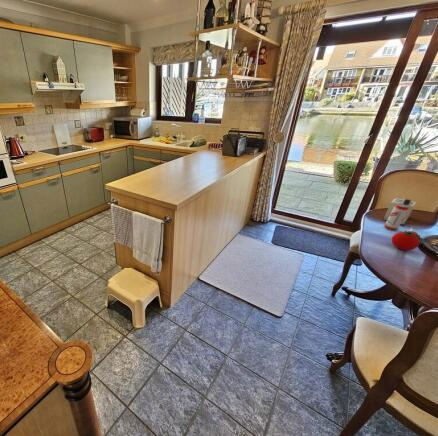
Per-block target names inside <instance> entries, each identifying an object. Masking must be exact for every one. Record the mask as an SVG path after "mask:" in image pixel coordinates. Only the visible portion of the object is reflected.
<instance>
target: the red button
mask: <svg viewBox="0 0 438 436" xmlns="http://www.w3.org/2000/svg"><path fill="white" fill-rule="evenodd" d="M407 232H408V233H409V232H411V233H415V234H413V235H416V236H417V235H419V233H418V232H417V231H414V230H407Z"/></svg>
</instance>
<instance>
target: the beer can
mask: <svg viewBox="0 0 438 436" xmlns="http://www.w3.org/2000/svg"><path fill="white" fill-rule="evenodd" d="M407 212H408V206H407V205H404V204H397V205H396V206H395V207H394V208H393V210H392V212H391V214H390V216H389V218H388V220H387V221H385V224H384V228H385V229H387V230H389V231H398V230H399V228H400V226H401V225H400V224H401V222H402V221H403V219H404V217H405V215H406V213H407Z"/></svg>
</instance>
